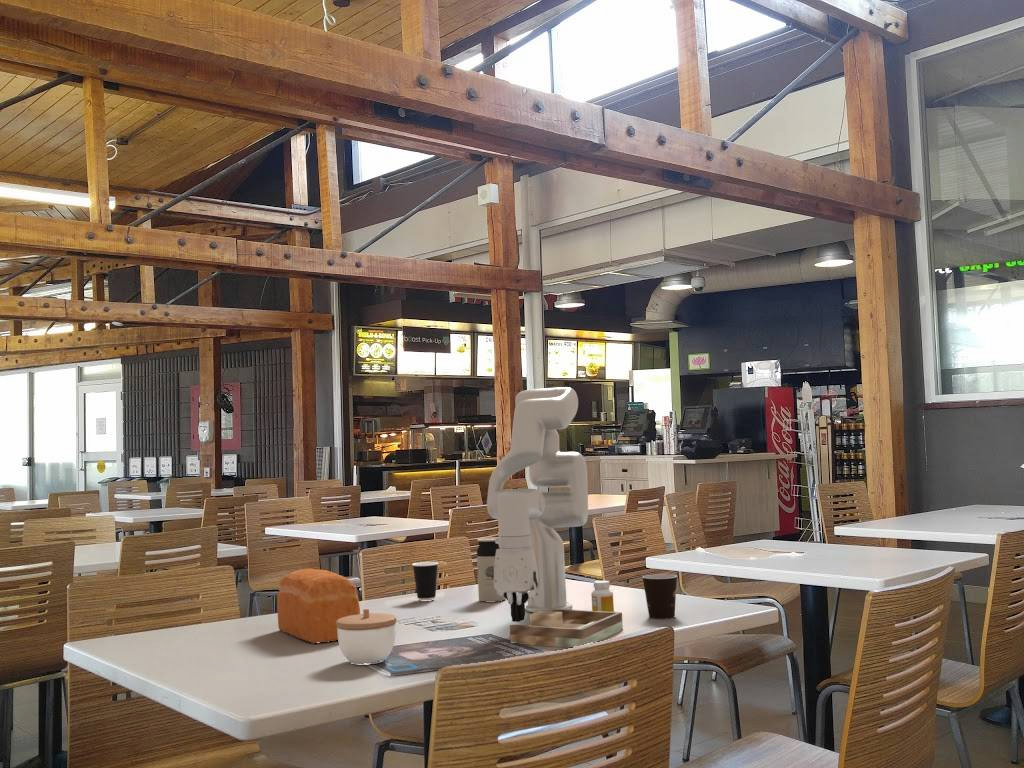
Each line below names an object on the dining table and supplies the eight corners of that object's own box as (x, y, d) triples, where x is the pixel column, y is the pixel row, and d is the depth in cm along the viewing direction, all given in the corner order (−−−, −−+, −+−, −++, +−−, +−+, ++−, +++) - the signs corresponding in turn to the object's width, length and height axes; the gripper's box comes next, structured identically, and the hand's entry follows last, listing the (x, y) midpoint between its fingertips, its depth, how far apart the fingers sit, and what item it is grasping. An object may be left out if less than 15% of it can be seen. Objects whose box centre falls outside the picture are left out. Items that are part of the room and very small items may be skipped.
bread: (325, 623, 246) (323, 563, 248) (364, 637, 224) (362, 571, 225) (274, 630, 239) (272, 568, 240) (309, 646, 217) (307, 577, 218)
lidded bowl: (402, 664, 193) (400, 611, 194) (340, 671, 189) (339, 616, 190) (392, 653, 205) (390, 602, 206) (334, 659, 201) (333, 607, 202)
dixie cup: (445, 599, 278) (443, 562, 279) (424, 603, 272) (423, 565, 273) (428, 597, 284) (427, 561, 284) (407, 601, 278) (406, 564, 279)
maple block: (530, 627, 217) (529, 614, 217) (540, 623, 221) (539, 610, 221) (553, 628, 214) (552, 615, 214) (562, 624, 218) (562, 612, 218)
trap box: (510, 643, 210) (509, 625, 210) (555, 625, 229) (554, 609, 229) (582, 648, 201) (581, 629, 201) (622, 629, 220) (621, 612, 220)
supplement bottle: (617, 619, 233) (615, 580, 234) (610, 623, 228) (608, 583, 229) (597, 618, 236) (595, 579, 236) (589, 622, 231) (587, 582, 231)
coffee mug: (669, 620, 228) (666, 579, 229) (638, 618, 234) (636, 578, 234) (690, 613, 238) (688, 573, 238) (660, 610, 243) (658, 572, 244)
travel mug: (481, 598, 277) (478, 537, 278) (507, 597, 276) (505, 536, 277) (476, 603, 269) (474, 540, 270) (503, 602, 268) (501, 539, 269)
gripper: (480, 544, 223) (483, 622, 222) (534, 545, 216) (538, 625, 214) (496, 541, 230) (499, 616, 228) (549, 541, 222) (553, 619, 221)
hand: (518, 620), depth 221 cm, fingers closed
